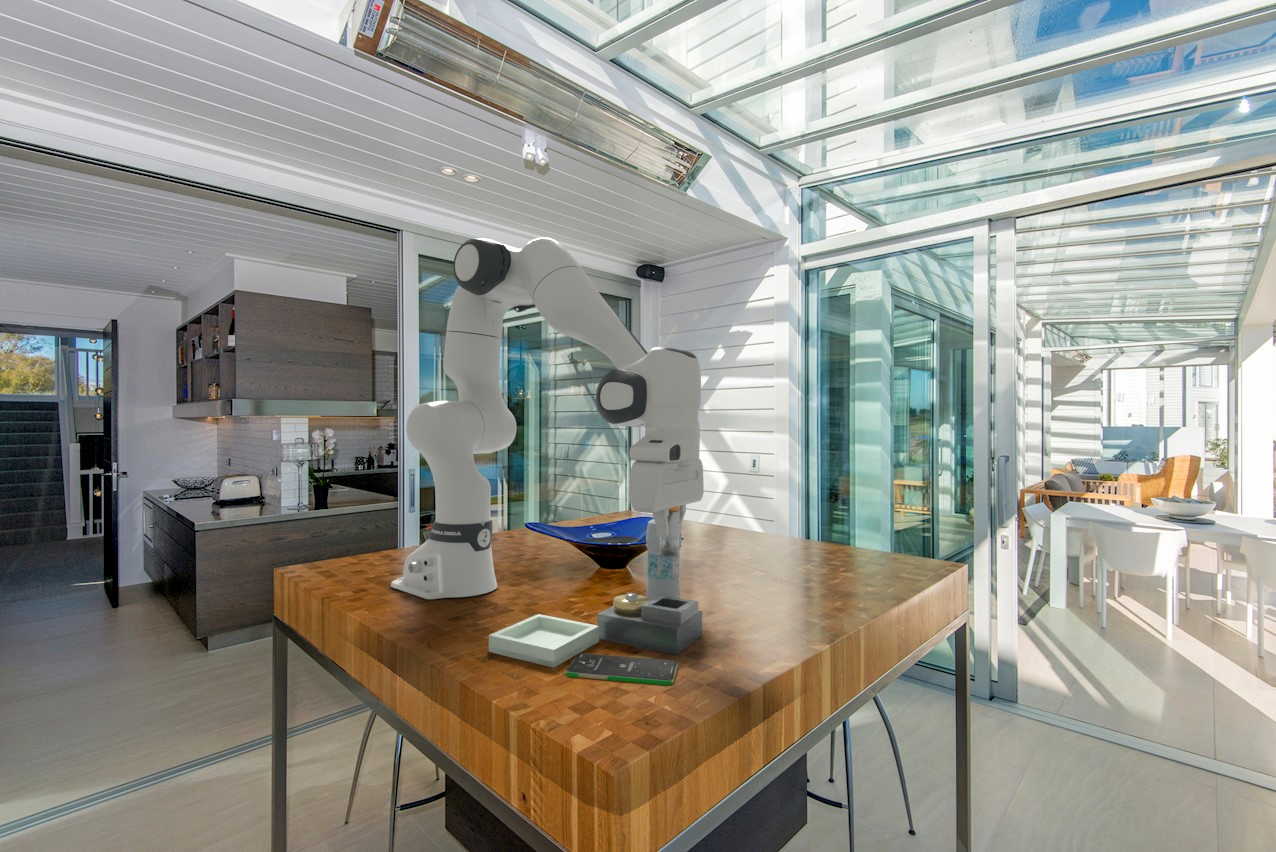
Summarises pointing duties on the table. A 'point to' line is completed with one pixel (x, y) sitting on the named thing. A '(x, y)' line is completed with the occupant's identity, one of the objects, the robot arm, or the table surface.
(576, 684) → the table surface
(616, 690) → the table surface
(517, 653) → the tray
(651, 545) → the bottle
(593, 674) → the smartphone
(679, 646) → the grey stepped block
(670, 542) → the lock pin
